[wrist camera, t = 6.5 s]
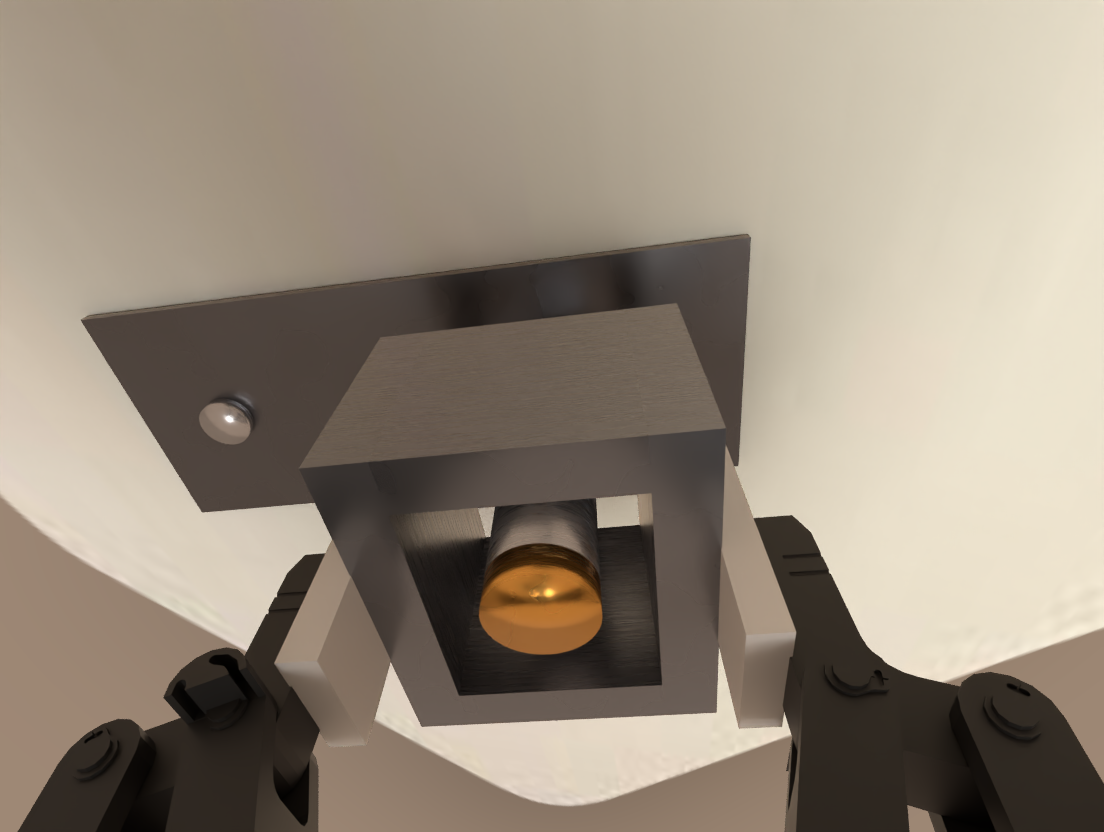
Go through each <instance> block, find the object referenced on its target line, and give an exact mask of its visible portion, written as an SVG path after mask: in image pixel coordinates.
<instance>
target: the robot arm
mask: <svg viewBox="0 0 1104 832" xmlns="http://www.w3.org/2000/svg"><path fill="white" fill-rule="evenodd" d="M718 644H719V648H720V652H721V656H722V660H723V665H724V669H725V673H726V677H727V681H728V685H729V689H730V693H731V698H732V702H733V706H734V710H735V714H736V718H737V722H738V727H739V728H761V727H782V723H783V716H784V712H785V715H786V718H787V722H788V725H789V728H790V731H791V734H792V742H791V747H790V753H789V759H788V764H787V770H786V771H789V775H788V790H787V805H786V819H785V832H909V821H908V809H907V805H909V806H913V807H916V808H920V809H923V810H926V811H928V813H929V816H930V818H931V821H932V824H933V827H934V830H935V832H1104V783H1103V782H1102V780H1101V778H1100V777H1099V775H1098V773H1097V771H1096V770H1095V768H1094V767H1093V765H1092V763H1091V761H1090V759H1089V758H1088V756H1087V755H1086V753H1085V751H1084V749H1083V748H1082V746H1081V744H1080V742H1079V741H1078V739H1077V737H1076V736H1075V734H1074V732H1073V731H1072V729H1071V727H1070V725H1069V724H1068V722H1067V720H1066V719H1065V717H1064V716H1063V715H1062V713H1061V712H1060V711H1059V710H1058V708H1057V707H1056V706H1055V705H1054V703H1053V702H1052V701H1051V700H1050V699H1049V698H1047V697H1046V696H1045V695H1043V694H1042V693H1041V692H1040V691H1038V690H1037V689H1035V688H1034V687H1033V686H1031V685H1029V684H1027V683H1025V682H1022V681H1020V680H1018V679H1016V678H1014V677H1011V676H1008V675H1002V674H998V673H992V672H988V673H979V674H973V675H972V676H970V677H969V678H967V679H966V680H964V681H963V682H962V684H961V686H960V687H959V686H955V685H951V684H946V683H942V682H938V681H933V680H929V679H924V678H920V677H916V676H913V675H910V674H907V673H904V672H901V671H900V670H898V669H896V668H894V667H892V666H890V665H888V664H887V663H885V662H884V661H883V659H882V658H880V657H879V656H878V655H876V654H875V653H874V652H872V651H871V650H870V649H869V648H868V647H867V645H866V644H865V642H864V641H863V639H862V637H861V636H860V634H859V632H858V630H857V628H856V626H855V623H854V621H853V619H852V617H851V615H850V613H849V611H848V609H847V607H846V605H845V603H844V601H843V598H842V596H841V594H840V592H839V590H838V588H837V586H836V584H835V582H834V580H833V578H832V576H831V574H829V569H828V567H827V565H826V563H825V561H824V559H823V557H821V553H820V550H819V548H818V546H817V544H816V542H815V540H814V538H813V536H812V534H811V532H810V531H809V530H808V529H807V528H805V527H804V526H803V525H802V524H801V523H800V522H799V521H798V520H797V519H796V518H794V517H793V516H792V515H790V516H777V517H764V518H753V515H752V513H751V510H750V507H749V505H748V502H747V499H746V497H745V494H744V491H743V489H742V486H741V483H740V481H739V478H738V475H737V473H736V470H735V467H734V465H733V462H732V460H731V457H730V454H729V452H728V449H727V446H726V447H725V477H724V506H723V536H722V549H721V567H720V596H719V624H718ZM390 662H391V660H390V657H389V655H388V653H387V651H386V649H385V647H384V645H383V643H382V640H381V638H380V636H379V634H378V632H377V630H376V628H375V626H374V624H373V621H372V619H371V617H370V615H369V613H368V611H367V609H366V607H365V605H364V602H363V600H362V598H361V596H360V594H359V592H358V590H357V588H356V585H355V583H354V581H353V579H352V577H351V576H350V575H349V573H348V571H347V569H346V567H345V565H344V563H343V561H342V558H341V556H340V554H339V552H338V550H337V548H336V546H335V544H334V542H333V540H332V541H331V543H330V545H329V547H328V549H327V551H326V553H324V554H312V555H305V556H304V557H303V558H302V559H301V560H300V561H299V562H298V563H297V564H296V565H295V566H294V567H293V568H292V569H291V570H290V571H289V572H288V573H287V575H286V577H285V579H284V581H283V583H282V585H281V587H280V589H279V591H278V592H277V597H275V598H274V600H273V602H272V604H271V606H270V608H269V613H268V614H266V616H265V617H264V619H263V621H262V623H261V625H260V627H259V629H258V631H257V633H256V635H255V637H254V639H253V641H252V642H251V644H250V646H249V648H248V650H247V652H246V654H245V656H244V655H243V654H242V653H241V652H240V651H239V650H237V649H231V648H222V649H217V650H212V651H210V652H207V653H205V654H203V655H201V656H199V657H197V658H196V659H194V660H193V661H192V662H190V663H189V664H188V665H186V666H185V667H184V668H183V669H181V670H180V672H179V673H178V674H177V675H176V676H175V678H174V679H173V680H172V681H171V682H170V684H169V686H168V688H167V691H166V693H165V695H164V699H165V700H166V701H167V702H168V703H169V704H170V706H171V707H172V708H173V709H174V710H175V711H176V712H177V713H178V714H179V716H180V717H181V718H179V719H176V720H174V721H171V722H168V723H165V724H163V725H160V726H157V727H154V728H152V729H149V730H146V731H143V730H142V729H141V728H140V727H139V725H137V724H136V723H135V722H133V721H132V720H128V719H117V720H114V721H111V722H108V723H105V724H102V725H100V726H99V727H97V728H95V729H94V730H92V731H90V732H89V733H87V734H86V735H84V736H83V737H82V738H81V739H80V740H79V741H78V742H77V743H76V744H74V745H73V746H72V747H71V748H70V749H69V750H68V752H67V753H66V754H65V756H64V757H63V758H62V760H61V761H60V762H59V764H58V765H57V767H56V769H55V770H54V772H53V774H52V775H51V777H50V779H49V780H48V782H47V784H46V785H45V787H44V789H43V790H42V792H41V794H40V795H39V797H38V799H37V800H36V802H35V804H34V805H33V807H32V809H31V811H30V812H29V814H28V815H27V817H26V819H25V820H24V822H23V824H22V826H21V827H20V829H19V830H18V832H318V765H317V761H316V757H315V756H314V755H313V753H312V751H313V748H314V745H315V742H316V740H317V737H318V734H319V732H320V734H321V735H322V736H323V738H324V739H325V741H326V743H327V744H328V746H329V747H343V746H365V745H367V744H368V740H369V736H370V733H371V729H372V725H373V722H374V719H375V715H376V712H377V708H378V705H379V701H380V698H381V694H382V691H383V687H384V684H385V680H386V677H387V673H388V669H389V666H390Z"/></svg>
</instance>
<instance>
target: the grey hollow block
mask: <svg viewBox="0 0 1104 832" xmlns="http://www.w3.org/2000/svg"><path fill="white" fill-rule="evenodd" d="M725 447H726V427H725V424H724V421H723V419H722V416H721V414H720V411H719V409H718V406H717V404H716V401H715V399H714V396H713V394H712V391H711V388H710V386H709V383H708V381H707V378H706V376H705V373H704V371H703V368H702V366H701V363H700V361H699V358H698V355H697V353H696V350H695V348H694V345H693V343H692V340H691V338H690V335H689V333H688V330H687V327H686V325H685V322H684V320H683V317H682V315H681V312H680V310H679V307H678V305H677V303H674V304H665V305H657V306H648V307H639V308H631V309H622V310H614V311H605V312H596V313H588V314H579V315H570V316H562V317H553V318H544V319H536V320H527V321H518V322H510V323H501V324H492V325H484V326H475V327H466V328H458V329H449V330H440V331H432V332H423V333H415V334H406V335H397V336H389V337H380V339H379V341H378V342H377V344H376V345H375V347H374V349H373V350H372V352H371V353H370V355H369V357H368V358H367V360H366V361H365V363H364V365H363V366H362V368H361V369H360V371H359V373H358V374H357V376H356V377H355V379H354V381H353V382H352V384H351V385H350V387H349V389H348V390H347V392H346V393H345V395H344V397H343V398H342V400H341V401H340V403H339V405H338V406H337V408H336V409H335V411H334V413H333V414H332V416H331V417H330V419H329V421H328V422H327V424H326V425H325V427H324V429H323V430H322V432H321V433H320V435H319V437H318V438H317V440H316V441H315V443H314V445H313V446H312V448H311V449H310V451H309V453H308V454H307V456H306V458H305V459H304V461H303V462H302V464H301V466H300V467H299V470H300V472H301V475H302V477H303V479H304V481H305V483H306V485H307V487H308V489H309V491H310V493H311V496H312V498H313V500H314V502H315V504H316V506H317V508H318V510H319V512H320V514H321V516H322V519H323V521H324V523H325V525H326V527H327V529H328V531H329V533H330V535H331V537H332V540H333V542H334V544H335V546H336V548H337V550H338V552H339V554H340V556H341V558H342V561H343V563H344V565H345V567H346V569H347V571H348V573H349V575H350V576H351V577H352V579H353V581H354V583H355V585H356V588H357V590H358V592H359V594H360V596H361V598H362V600H363V602H364V605H365V607H366V609H367V611H368V613H369V615H370V617H371V619H372V621H373V624H374V626H375V628H376V630H377V632H378V634H379V636H380V638H381V640H382V643H383V645H384V647H385V649H386V651H387V653H388V655H389V657H390V660H391V663H392V665H393V668H394V670H395V672H396V674H397V676H398V678H399V680H400V682H401V684H402V686H403V689H404V691H405V693H406V695H407V697H408V699H409V701H410V703H411V705H412V707H413V710H414V712H415V714H416V716H417V718H418V720H419V722H420V724H421V726H422V727H426V726H447V725H468V724H489V723H510V722H530V721H551V720H572V719H593V718H613V717H634V716H655V715H676V714H697V713H716V712H717V683H718V653H719V644H718V624H719V596H720V567H721V549H722V536H723V506H724V477H725ZM625 495H638V509H639V522H640V525H634V526H622V527H609V528H598V545H599V563H600V582H601V600H602V624H601V626H600V629H599V630H598V632H597V634H596V635H595V636H594V637H593V638H592V639H591V640H590V641H588V642H587V643H585V644H584V645H582V646H580V647H578V648H576V649H573V650H570V651H567V652H563V653H557V654H544V655H541V654H530V653H524V652H519V651H516V650H513V649H510V648H508V647H506V646H504V645H502V644H500V643H498V642H497V641H495V640H494V639H493V638H492V637H490V636H489V635H488V634H487V632H486V631H485V630H484V628H483V627H482V625H481V622H480V618H479V607H480V601H481V594H482V588H483V582H484V575H485V569H486V562H487V556H488V550H489V543H490V537H486V536H485V533H484V529H483V526H482V522H481V518H480V515H479V511H478V508H484V507H495V506H507V505H519V504H531V503H543V502H554V501H566V500H578V499H590V498H602V497H613V496H625Z"/></svg>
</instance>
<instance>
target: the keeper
mask: <svg viewBox="0 0 1104 832" xmlns="http://www.w3.org/2000/svg"><path fill="white" fill-rule="evenodd" d="M750 241H751V237H750V236H749V235H748V234H746V235H738V236H730V237H722V238H714V239H706V240H697V241H689V242H681V243H673V244H665V245H657V246H649V247H641V248H633V249H625V250H617V251H609V252H601V253H593V254H584V255H576V256H568V257H560V258H552V259H544V260H536V261H528V262H520V263H512V264H504V265H496V266H488V267H480V268H471V269H463V270H455V271H447V272H439V273H431V274H423V275H415V276H407V277H399V278H391V279H383V280H375V281H367V282H358V283H350V284H342V285H334V286H326V287H318V288H310V289H302V290H294V291H286V292H278V293H270V294H262V295H254V296H245V297H237V298H229V299H221V300H213V301H205V302H197V303H189V304H181V305H173V306H165V307H157V308H149V309H141V310H132V311H124V312H116V313H108V314H100V315H92V316H87V317H85V318H83V319H82V320H81V321H82V323H83V325H84V326H85V328H86V329H87V331H88V333H89V334H90V336H91V337H92V339H93V340H94V342H95V344H96V345H97V347H98V348H99V350H100V351H101V353H102V355H103V356H104V358H105V359H106V361H107V363H108V364H109V366H110V367H111V369H112V370H113V372H114V374H115V375H116V377H117V378H118V380H119V382H120V383H121V385H122V386H123V388H124V389H125V391H126V393H127V394H128V396H129V397H130V399H131V401H132V402H133V404H134V405H135V407H136V408H137V410H138V412H139V413H140V415H141V416H142V418H143V420H144V421H145V423H146V424H147V426H148V427H149V429H150V431H151V432H152V434H153V435H154V437H155V439H156V440H157V442H158V443H159V445H160V446H161V448H162V450H163V451H164V453H165V454H166V456H167V458H168V459H169V461H170V462H171V464H172V465H173V467H174V469H175V470H176V472H177V473H178V475H179V477H180V478H181V480H182V481H183V483H184V484H185V486H186V488H187V489H188V491H189V492H190V494H191V496H192V497H193V499H194V500H195V502H196V503H197V505H198V507H199V508H200V510H201V511H202V512H213V511H225V510H236V509H248V508H259V507H271V506H282V505H294V504H305V503H315V502H314V500H313V498H312V496H311V493H310V491H309V489H308V487H307V485H306V483H305V481H304V479H303V477H302V475H301V472H300V470H299V467H300V466H301V464H302V462H303V461H304V459H305V458H306V456H307V454H308V453H309V451H310V449H311V448H312V446H313V445H314V443H315V441H316V440H317V438H318V437H319V435H320V433H321V432H322V430H323V429H324V427H325V425H326V424H327V422H328V421H329V419H330V417H331V416H332V414H333V413H334V411H335V409H336V408H337V406H338V405H339V403H340V401H341V400H342V398H343V397H344V395H345V393H346V392H347V390H348V389H349V387H350V385H351V384H352V382H353V381H354V379H355V377H356V376H357V374H358V373H359V371H360V369H361V368H362V366H363V365H364V363H365V361H366V360H367V358H368V357H369V355H370V353H371V352H372V350H373V349H374V347H375V345H376V344H377V342H378V341H379V339H380V337H389V336H397V335H406V334H415V333H423V332H432V331H440V330H449V329H458V328H466V327H475V326H484V325H492V324H501V323H510V322H518V321H527V320H536V319H544V318H553V317H562V316H570V315H579V314H588V313H596V312H605V311H614V310H622V309H631V308H639V307H648V306H657V305H665V304H674V303H677V305H678V307H679V310H680V312H681V315H682V317H683V320H684V322H685V325H686V327H687V330H688V333H689V335H690V338H691V340H692V343H693V345H694V348H695V350H696V353H697V355H698V358H699V361H700V363H701V366H702V368H703V371H704V373H705V376H706V378H707V381H708V383H709V386H710V388H711V391H712V394H713V396H714V399H715V401H716V404H717V406H718V409H719V411H720V414H721V416H722V419H723V421H724V424H725V427H726V446H727V449H728V452H729V454H730V457H731V460H732V462H733V465H734V466H738V462H739V444H740V425H741V407H742V388H743V370H744V352H745V333H746V315H747V296H748V278H749V260H750ZM479 618H480V622H481V625H482V627H483V628H484V630H485V631H486V632H487V634H488V635H489V636H490V637H492V638H493V639H494V640H495V641H497V642H498V643H500V644H502V645H504V646H506V647H508V648H510V649H513V650H516V651H519V652H524V653H530V654H541V655H544V654H557V653H563V652H567V651H570V650H573V649H576V648H578V647H580V646H582V645H584V644H585V643H587V642H588V641H590V640H591V639H592V638H593V637H594V636H595V635H596V634H597V632H598V630H599V629H600V626H601V624H602V600H601V582H600V563H599V545H598V527H597V509H596V498H590V499H578V500H566V501H554V502H543V503H531V504H519V505H507V506H495V511H494V518H493V524H492V530H491V537H490V543H489V550H488V556H487V562H486V569H485V575H484V582H483V588H482V594H481V601H480V607H479Z"/></svg>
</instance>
